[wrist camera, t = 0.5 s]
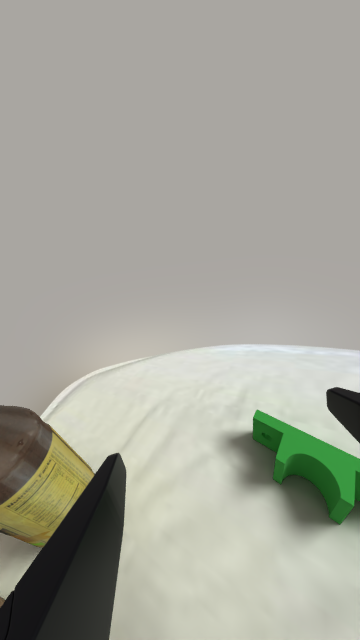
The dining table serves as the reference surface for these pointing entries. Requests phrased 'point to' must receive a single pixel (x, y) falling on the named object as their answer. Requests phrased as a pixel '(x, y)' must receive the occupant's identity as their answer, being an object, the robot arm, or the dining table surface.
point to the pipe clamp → (311, 463)
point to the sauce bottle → (36, 476)
